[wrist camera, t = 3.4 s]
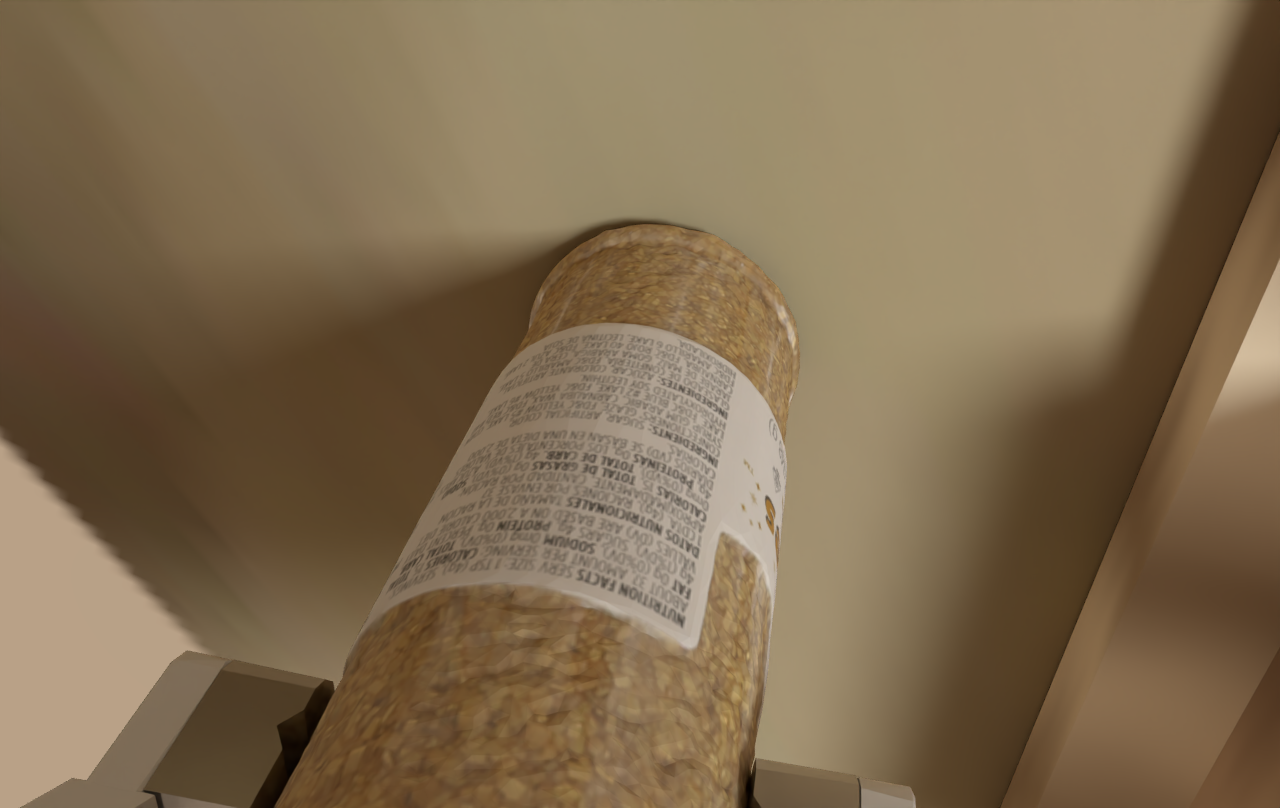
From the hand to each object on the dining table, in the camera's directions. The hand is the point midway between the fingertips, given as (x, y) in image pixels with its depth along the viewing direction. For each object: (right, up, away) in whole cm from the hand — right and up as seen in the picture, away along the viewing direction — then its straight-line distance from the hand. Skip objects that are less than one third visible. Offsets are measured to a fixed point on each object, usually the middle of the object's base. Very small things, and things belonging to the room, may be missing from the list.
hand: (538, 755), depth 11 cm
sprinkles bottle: (+1, +5, +7) cm, 9 cm away
